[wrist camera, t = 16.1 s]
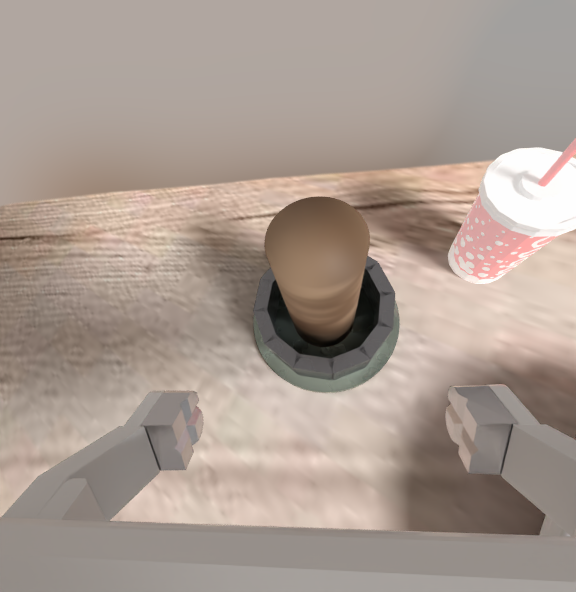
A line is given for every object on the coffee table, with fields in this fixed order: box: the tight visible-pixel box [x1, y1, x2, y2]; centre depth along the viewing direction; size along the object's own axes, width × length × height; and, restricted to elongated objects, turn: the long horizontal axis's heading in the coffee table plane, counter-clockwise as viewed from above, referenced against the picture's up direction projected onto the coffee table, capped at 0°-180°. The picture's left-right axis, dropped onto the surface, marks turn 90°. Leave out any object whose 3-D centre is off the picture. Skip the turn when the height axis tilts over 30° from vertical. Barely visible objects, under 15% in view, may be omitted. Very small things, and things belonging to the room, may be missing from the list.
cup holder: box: [253, 256, 399, 393], centre depth 25 cm, size 12×12×4 cm
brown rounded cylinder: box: [265, 197, 370, 347], centre depth 20 cm, size 5×5×12 cm
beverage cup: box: [448, 138, 576, 284], centre depth 20 cm, size 6×6×14 cm
